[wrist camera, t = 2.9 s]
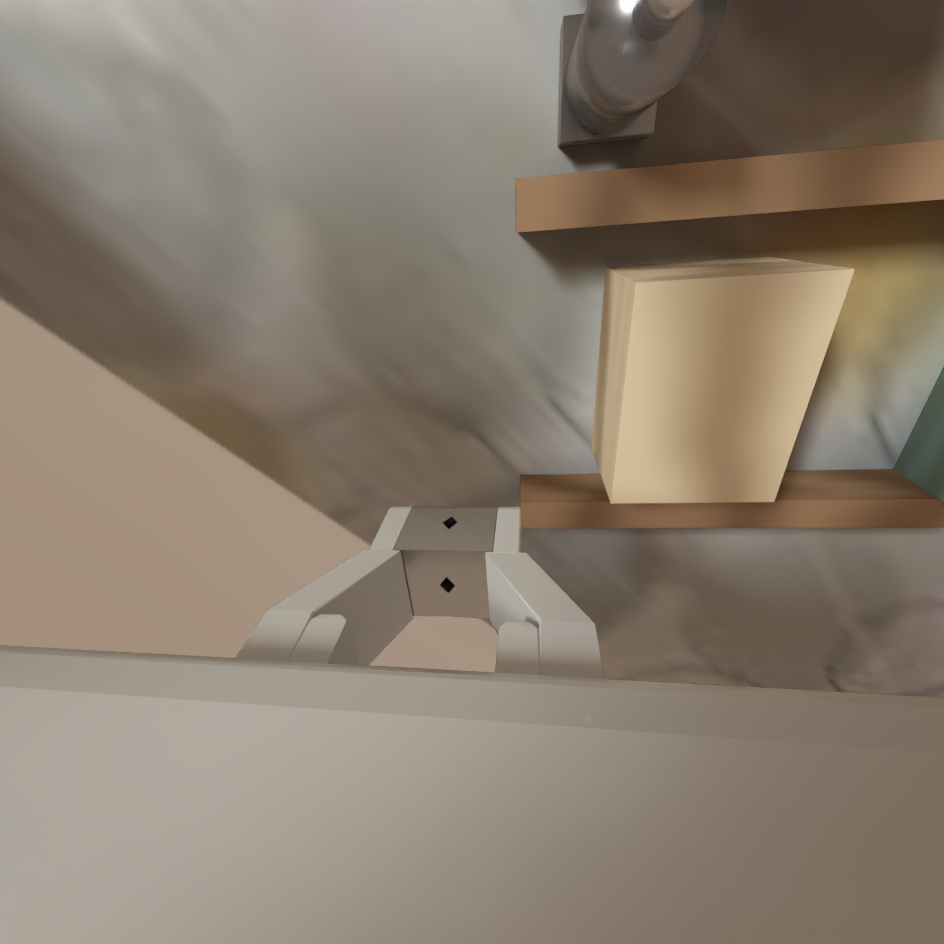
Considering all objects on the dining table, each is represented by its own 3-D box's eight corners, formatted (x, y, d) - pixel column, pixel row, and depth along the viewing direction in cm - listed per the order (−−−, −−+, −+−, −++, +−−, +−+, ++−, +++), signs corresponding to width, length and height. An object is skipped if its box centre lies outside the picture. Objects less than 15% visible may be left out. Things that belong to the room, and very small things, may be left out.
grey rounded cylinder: (557, 146, 15) (593, 84, 8) (560, 28, 14) (607, -169, 7) (645, 137, 15) (760, 65, 8) (658, 16, 13) (814, -204, 6)
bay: (520, 499, 23) (521, 534, 20) (515, 184, 16) (515, 177, 13) (914, 495, 21) (971, 534, 18) (1111, 130, 14) (1250, 109, 11)
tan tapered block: (590, 445, 21) (610, 503, 17) (605, 267, 17) (635, 282, 13) (719, 442, 20) (774, 501, 16) (765, 256, 16) (854, 268, 12)
